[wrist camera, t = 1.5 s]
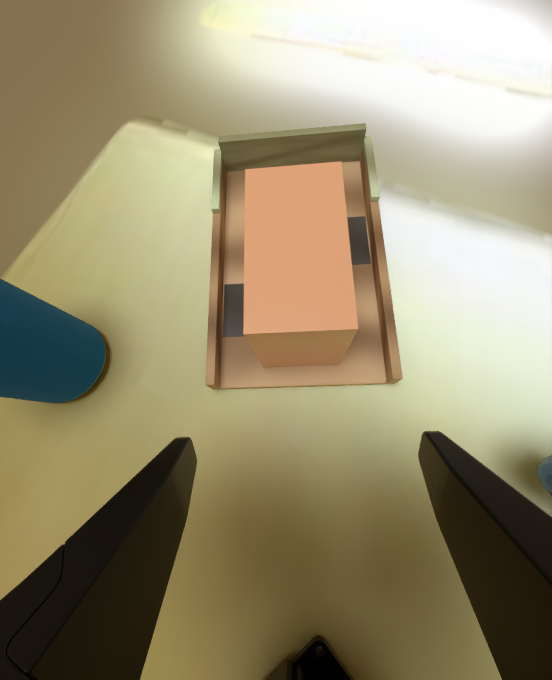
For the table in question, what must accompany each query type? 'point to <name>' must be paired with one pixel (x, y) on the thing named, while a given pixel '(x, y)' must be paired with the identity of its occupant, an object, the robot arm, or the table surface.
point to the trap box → (366, 255)
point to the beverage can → (45, 350)
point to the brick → (298, 266)
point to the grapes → (546, 473)
